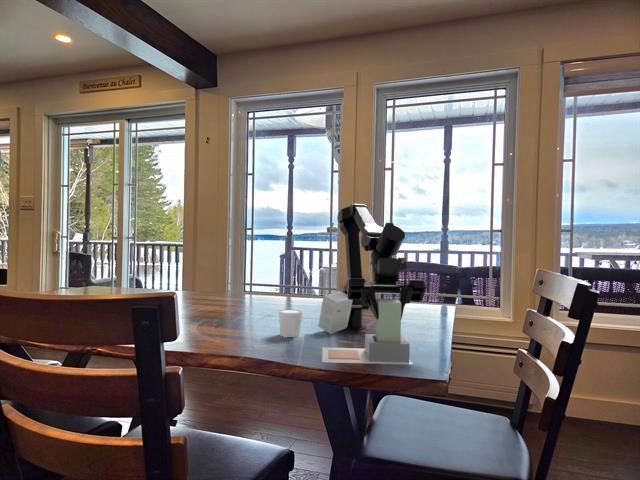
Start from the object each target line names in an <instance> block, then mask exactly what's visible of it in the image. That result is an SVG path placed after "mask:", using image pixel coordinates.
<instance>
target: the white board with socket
mask: <svg viewBox="0 0 640 480" xmlns="http://www.w3.org/2000/svg"><path fill="white" fill-rule="evenodd" d="M410 348H411V346H410V343H409V342H408V341H407V339H406V338H405V337H404V336H403V335H402V334H401V340H400V342H376V333H375V334H374V333H365V334H364V348H359V347H358V348H355V347H353V348H352V347H351V348H350V347H323V346H322V347H321V349H322V351H321V362H322V363H333V364H334V363H335V364H336V363H337V364H339V363H341V364H376V365H377V364H379V365H406V366H407V365H414V364H413V362H412V360H411V359H410Z"/></svg>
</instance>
